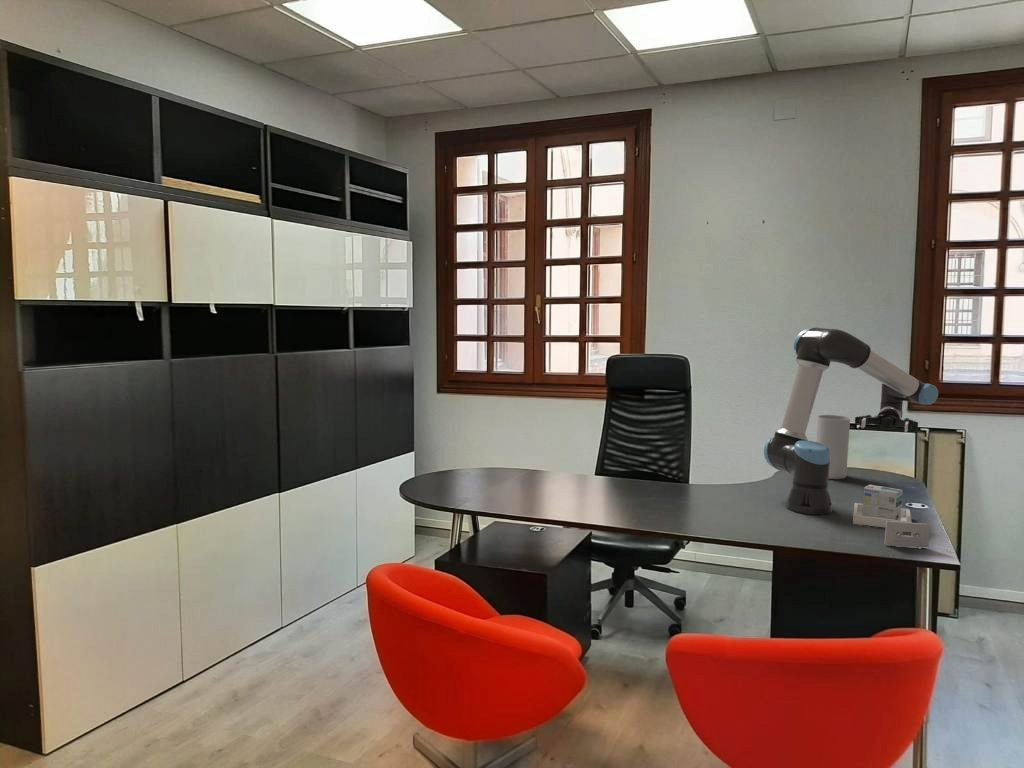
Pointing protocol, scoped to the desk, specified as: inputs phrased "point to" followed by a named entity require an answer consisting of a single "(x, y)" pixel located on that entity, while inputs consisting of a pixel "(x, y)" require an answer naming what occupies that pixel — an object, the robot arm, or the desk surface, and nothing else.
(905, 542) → the cassette
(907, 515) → the holder tray
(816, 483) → the robot arm
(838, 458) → the cylinder vase
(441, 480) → the desk surface
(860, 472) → the desk surface
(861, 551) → the desk surface
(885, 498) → the light bulb box
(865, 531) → the desk surface
